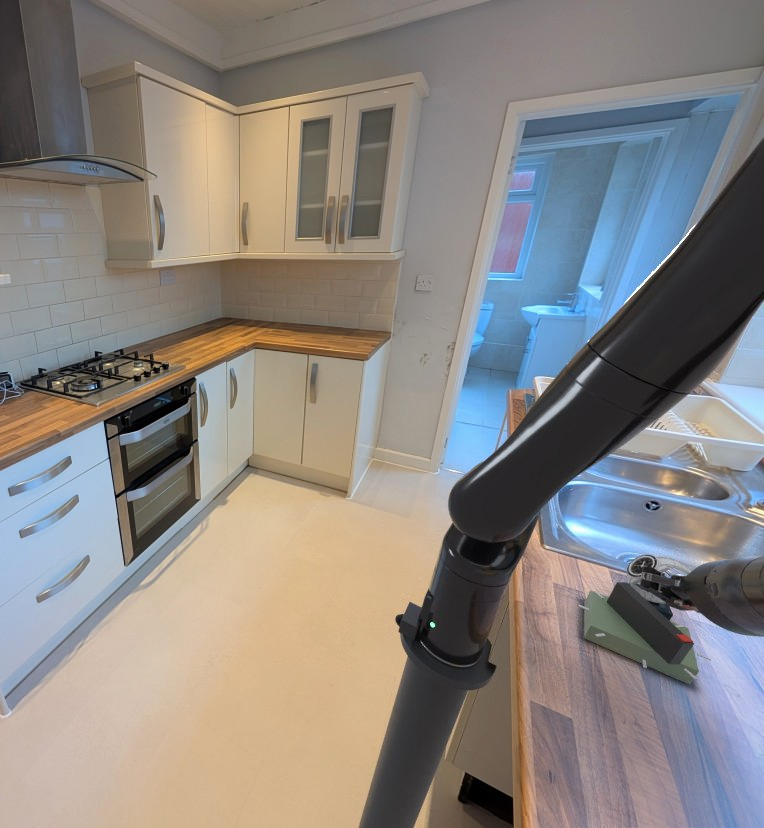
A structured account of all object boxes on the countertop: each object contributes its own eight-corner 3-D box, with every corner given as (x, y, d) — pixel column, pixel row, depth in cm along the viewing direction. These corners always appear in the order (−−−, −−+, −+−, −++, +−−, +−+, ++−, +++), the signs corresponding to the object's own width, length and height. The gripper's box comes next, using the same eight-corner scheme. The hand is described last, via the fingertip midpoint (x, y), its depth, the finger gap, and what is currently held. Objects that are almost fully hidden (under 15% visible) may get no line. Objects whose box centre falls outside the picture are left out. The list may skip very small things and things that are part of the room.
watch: (608, 589, 77) (633, 542, 72) (668, 608, 73) (699, 560, 69) (615, 612, 73) (642, 563, 68) (679, 633, 69) (713, 583, 64)
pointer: (606, 601, 71) (617, 580, 69) (615, 601, 71) (627, 580, 69) (668, 664, 61) (684, 642, 59) (679, 664, 61) (695, 642, 59)
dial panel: (570, 651, 66) (577, 637, 65) (572, 590, 77) (579, 577, 76) (711, 715, 57) (723, 701, 56) (691, 637, 68) (701, 623, 67)
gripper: (869, 589, 40) (748, 594, 55) (677, 535, 47) (614, 553, 61) (865, 670, 38) (741, 653, 53) (666, 602, 45) (604, 604, 60)
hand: (673, 599), depth 57 cm, fingers closed
